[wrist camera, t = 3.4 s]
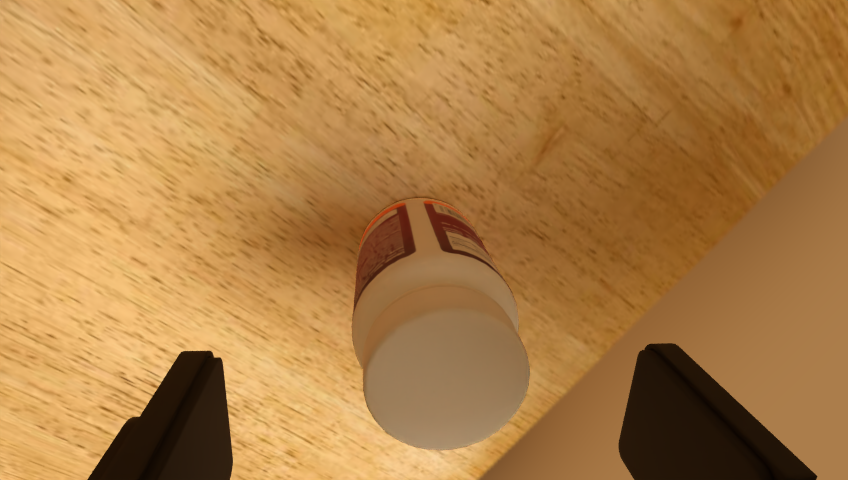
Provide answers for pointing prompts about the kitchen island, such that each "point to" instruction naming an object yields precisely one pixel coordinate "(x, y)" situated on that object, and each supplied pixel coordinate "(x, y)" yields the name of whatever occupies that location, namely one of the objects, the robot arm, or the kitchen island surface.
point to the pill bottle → (435, 329)
